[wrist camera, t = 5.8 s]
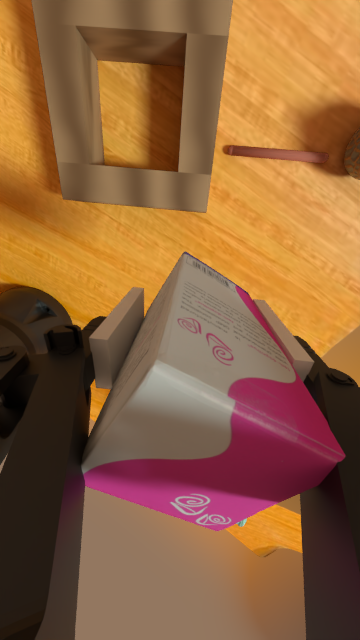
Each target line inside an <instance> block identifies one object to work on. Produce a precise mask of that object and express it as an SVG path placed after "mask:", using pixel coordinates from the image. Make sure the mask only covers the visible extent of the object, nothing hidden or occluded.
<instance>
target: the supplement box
mask: <svg viewBox="0 0 360 640" xmlns="http://www.w3.org/2000/svg"><path fill="white" fill-rule="evenodd" d="M345 456H346V455H345V454H344V452H343V450H342V448H341V447H340V445H339V443H338V442H337V440H336V438H335V437H334V435H333V433H332V432H331V430H330V427H329V425H328V422H327V420H326V419H325V417H324V415H323V414H322V412H321V411H320V409H319V407H318V406H317V404H316V402H315V401H314V399H313V398H312V396H311V394H310V393H309V391H308V389H307V388H306V386H305V385H304V383H303V381H302V380H301V378H300V377H299V375H298V374H297V372H296V370H295V369H294V367H293V365H292V364H291V362H290V361H289V359H288V357H287V356H286V354H285V352H284V351H283V349H282V348H281V346H280V345H279V343H278V341H277V340H276V338H275V336H274V335H273V333H272V332H271V330H270V328H269V327H268V325H267V323H266V322H265V320H264V319H263V317H262V315H261V314H260V312H259V310H258V309H257V307H256V305H255V304H254V302H253V301H252V299H251V297H250V296H249V294H248V293H247V292H246V291H245V290H243V289H242V288H240V287H239V286H238V285H236V284H235V283H233V282H232V281H230V280H229V279H227V278H226V277H224V276H223V275H221V274H220V273H218V272H217V271H215V270H214V269H212V268H211V267H209V266H207V265H206V264H204V263H203V262H201V261H200V260H198V259H197V258H195V257H193V256H192V255H190V254H189V253H187V252H184V253H183V254H182V255H181V257H180V259H179V260H178V262H177V263H176V265H175V267H174V268H173V270H172V272H171V273H170V275H169V276H168V278H167V280H166V281H165V283H164V284H163V286H162V288H161V289H160V291H159V293H158V294H157V296H156V298H155V299H154V301H153V303H152V304H151V306H150V308H149V309H148V311H147V313H146V316H145V318H144V320H143V322H142V324H141V326H140V329H139V331H138V333H137V335H136V337H135V339H134V341H133V343H132V346H131V348H130V350H129V352H128V354H127V356H126V358H125V361H124V363H123V365H122V367H121V369H120V371H119V373H118V376H117V378H116V380H115V382H114V384H113V386H112V388H111V391H110V393H109V395H108V397H107V399H106V401H105V403H104V405H103V407H102V410H101V412H100V414H99V416H98V418H97V420H96V422H95V425H94V427H93V429H92V431H91V433H90V435H89V437H88V440H87V443H86V446H85V450H84V453H83V457H82V463H81V468H82V472H83V476H84V479H85V486H87V487H89V488H92V489H95V490H98V491H101V492H104V493H107V494H110V495H113V496H116V497H118V498H121V499H124V500H127V501H130V502H133V503H136V504H139V505H142V506H145V507H148V508H150V509H154V510H156V511H159V512H162V513H165V514H168V515H171V516H174V517H177V518H180V519H183V520H185V521H189V522H192V523H194V524H197V525H200V526H203V527H206V528H209V529H212V530H215V531H219V530H222V529H225V528H228V527H230V526H232V525H234V524H236V523H238V522H240V521H242V520H244V519H246V518H248V517H250V516H252V515H254V514H256V513H257V512H259V511H262V510H264V509H266V508H268V507H270V506H273V505H275V504H277V503H279V502H281V501H284V500H286V499H288V498H291V497H293V496H295V495H297V494H300V493H302V492H304V491H306V490H308V489H311V488H313V487H316V486H318V485H319V484H320V483H321V482H322V481H323V480H324V478H325V477H326V476H327V475H328V474H329V473H330V472H331V471H332V469H333V468H334V467H335V466H336V464H337V462H340V461H342V460H343V459H344V458H345Z"/></svg>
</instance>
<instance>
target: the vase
mask: <svg viewBox="0 0 360 640" xmlns="http://www.w3.org/2000/svg"><path fill="white" fill-rule="evenodd" d="M344 162H345V168H346V170H347V172H348V173H349V174H350V175H351V176H352V177H354V178H356V179H358V180H360V128H359V129H358V130H357V131H356V132H355V134H354V135H353V137H352V138H351V140H350V142H349V144H348V146H347V149H346V152H345V158H344Z"/></svg>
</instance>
